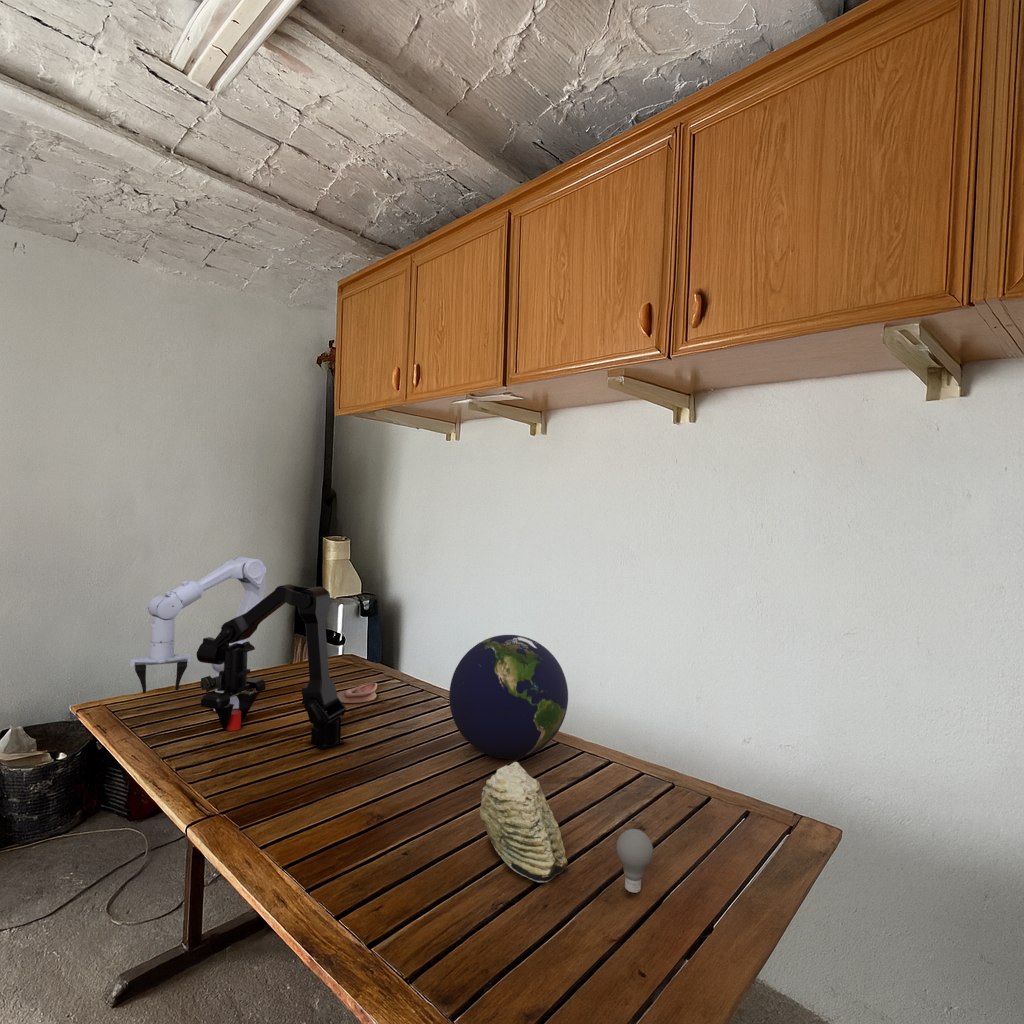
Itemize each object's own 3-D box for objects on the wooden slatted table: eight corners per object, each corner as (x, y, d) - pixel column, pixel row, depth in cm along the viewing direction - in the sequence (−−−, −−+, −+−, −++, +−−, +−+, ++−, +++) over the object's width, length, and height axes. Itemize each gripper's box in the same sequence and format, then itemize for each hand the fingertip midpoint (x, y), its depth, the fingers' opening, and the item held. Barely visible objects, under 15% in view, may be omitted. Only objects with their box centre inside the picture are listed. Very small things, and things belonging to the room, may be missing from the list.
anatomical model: (326, 688, 195) (343, 678, 206) (325, 700, 195) (343, 690, 206) (366, 692, 192) (381, 682, 203) (365, 705, 192) (381, 694, 203)
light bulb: (610, 879, 108) (613, 822, 108) (644, 879, 109) (647, 822, 109) (619, 902, 102) (622, 840, 102) (655, 901, 103) (658, 840, 103)
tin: (228, 725, 172) (229, 709, 172) (242, 725, 172) (243, 710, 172) (223, 730, 168) (224, 714, 168) (237, 730, 168) (238, 714, 168)
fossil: (501, 827, 124) (504, 751, 124) (575, 868, 111) (578, 784, 111) (467, 843, 118) (470, 763, 118) (541, 889, 105) (545, 799, 105)
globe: (495, 724, 181) (499, 619, 180) (587, 752, 163) (592, 636, 163) (421, 755, 157) (426, 635, 156) (520, 792, 139) (526, 657, 139)
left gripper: (130, 646, 165) (128, 697, 165) (192, 642, 171) (191, 692, 172) (131, 640, 171) (130, 690, 171) (192, 636, 178) (190, 684, 178)
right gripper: (234, 655, 181) (232, 709, 181) (184, 671, 163) (181, 732, 163) (267, 659, 178) (265, 714, 178) (220, 676, 160) (218, 738, 160)
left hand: (160, 690), depth 172 cm, fingers open, 7 cm apart
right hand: (233, 724), depth 170 cm, fingers open, 6 cm apart
